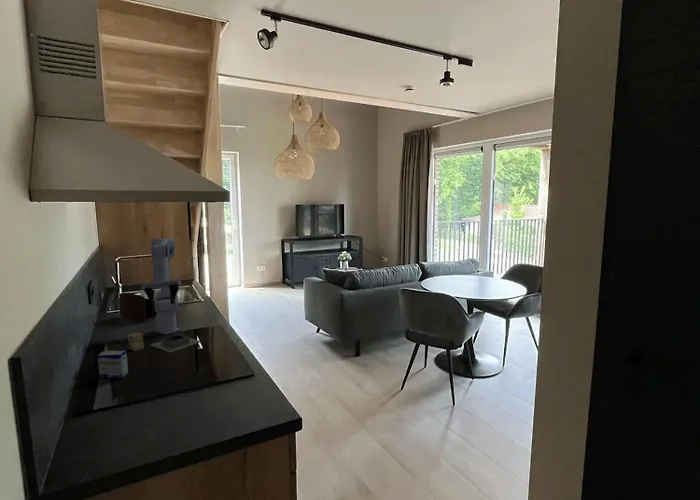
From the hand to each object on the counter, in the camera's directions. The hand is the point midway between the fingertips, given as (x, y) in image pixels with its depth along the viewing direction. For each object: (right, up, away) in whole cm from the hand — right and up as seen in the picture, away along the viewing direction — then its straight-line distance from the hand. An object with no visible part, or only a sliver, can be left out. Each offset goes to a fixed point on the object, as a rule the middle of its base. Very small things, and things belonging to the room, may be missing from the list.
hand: (162, 305), depth 160 cm
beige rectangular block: (-13, -19, +5) cm, 24 cm away
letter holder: (-35, -14, +51) cm, 63 cm away
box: (-7, -22, -21) cm, 31 cm away
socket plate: (+1, -18, +10) cm, 21 cm away
